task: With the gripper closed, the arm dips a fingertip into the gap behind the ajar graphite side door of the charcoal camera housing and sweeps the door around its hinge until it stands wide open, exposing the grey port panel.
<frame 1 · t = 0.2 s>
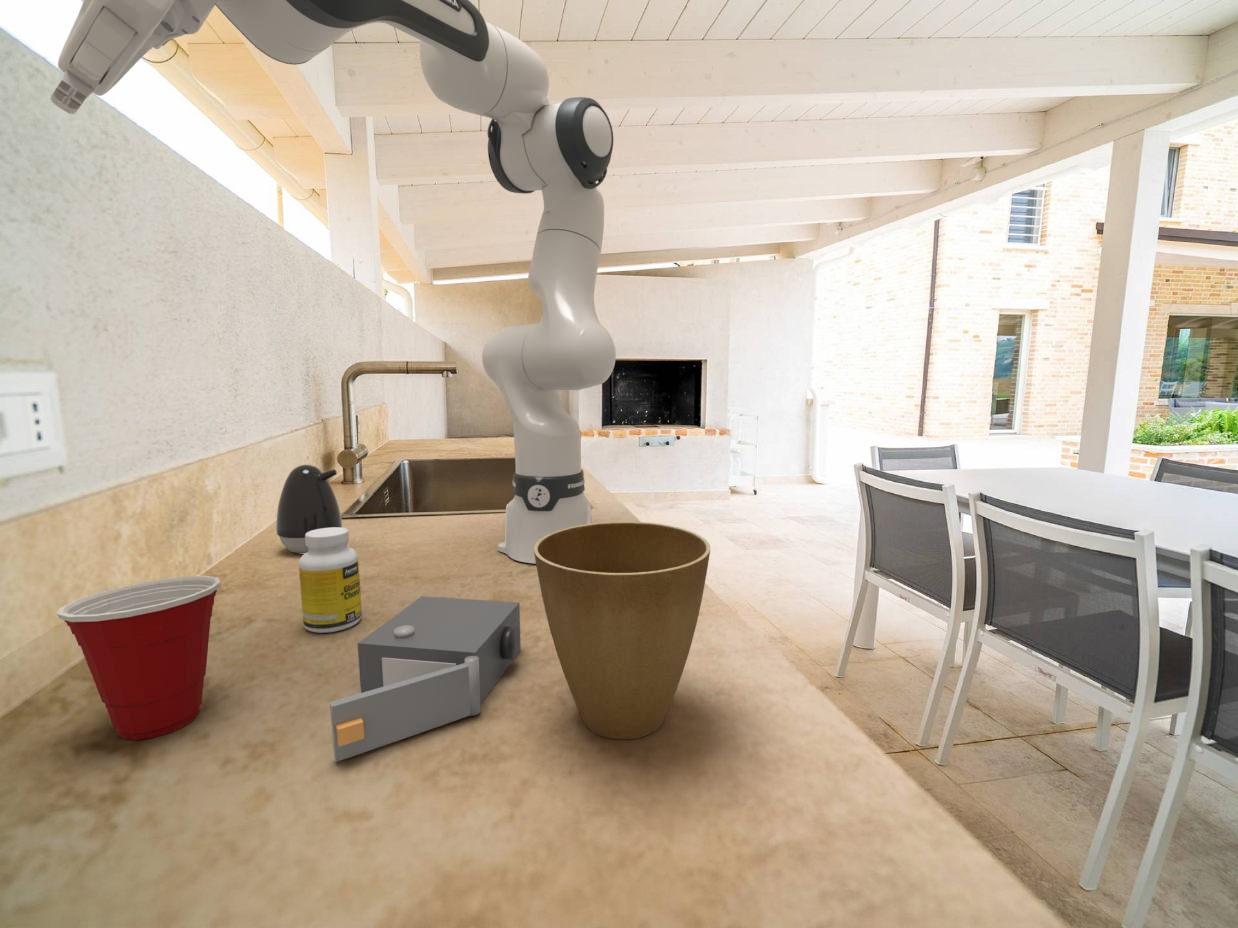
hand: (73, 89, 49), 54 cm above the counter, tool tilted 30°, fingers open, 8 cm apart
pump dispenser: (312, 550, 102), on the counter
camera housing: (447, 672, 59), on the counter
plant pot: (621, 718, 51), on the counter
side door: (411, 706, 48), point 3 cm above the counter, hinge at 45.0°
pill bottle: (333, 625, 71), on the counter
plastic cup: (159, 721, 51), on the counter
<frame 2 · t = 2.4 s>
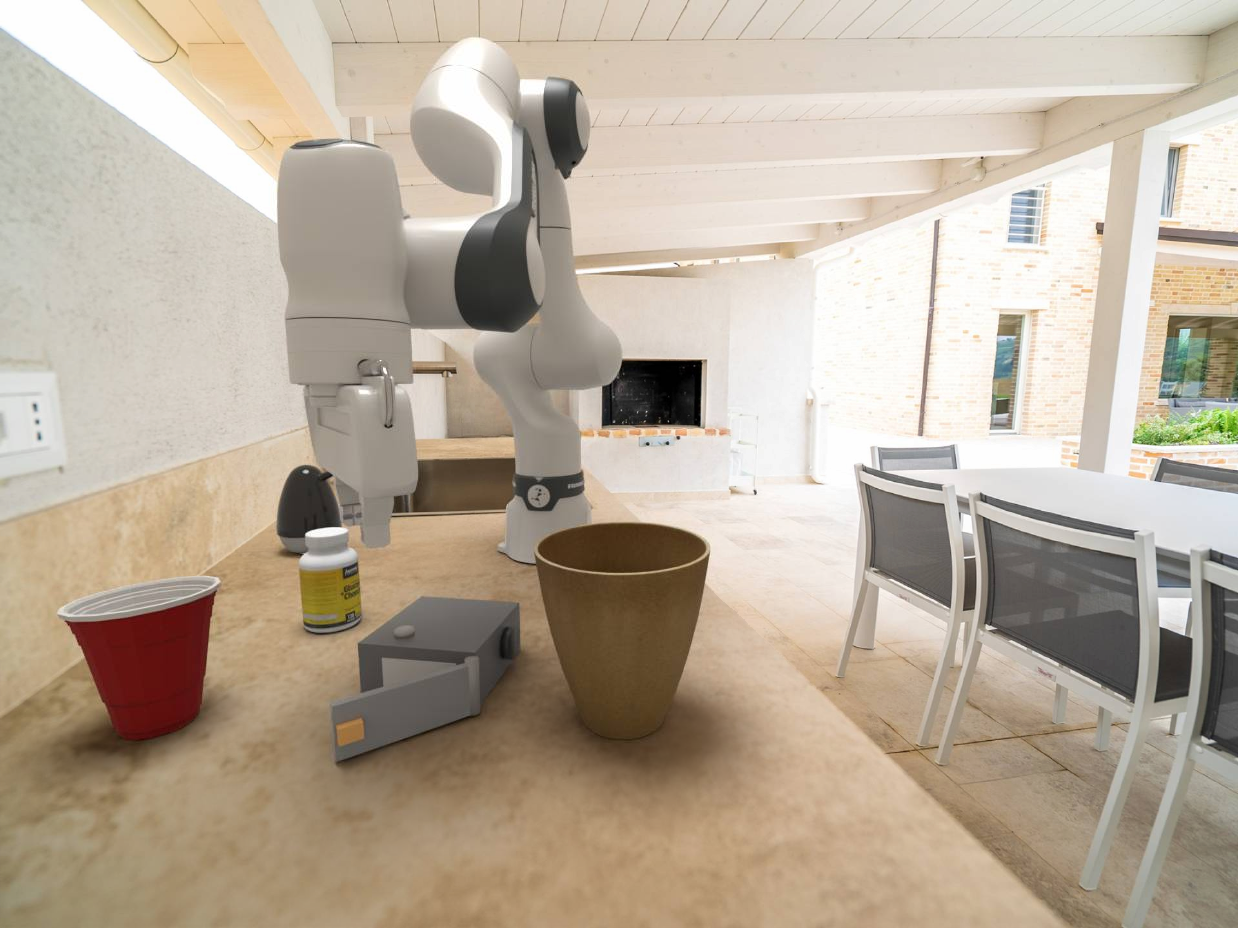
hand: (363, 534, 47), 17 cm above the counter, tool pointing down, fingers open, 7 cm apart
nothing on the counter moved.
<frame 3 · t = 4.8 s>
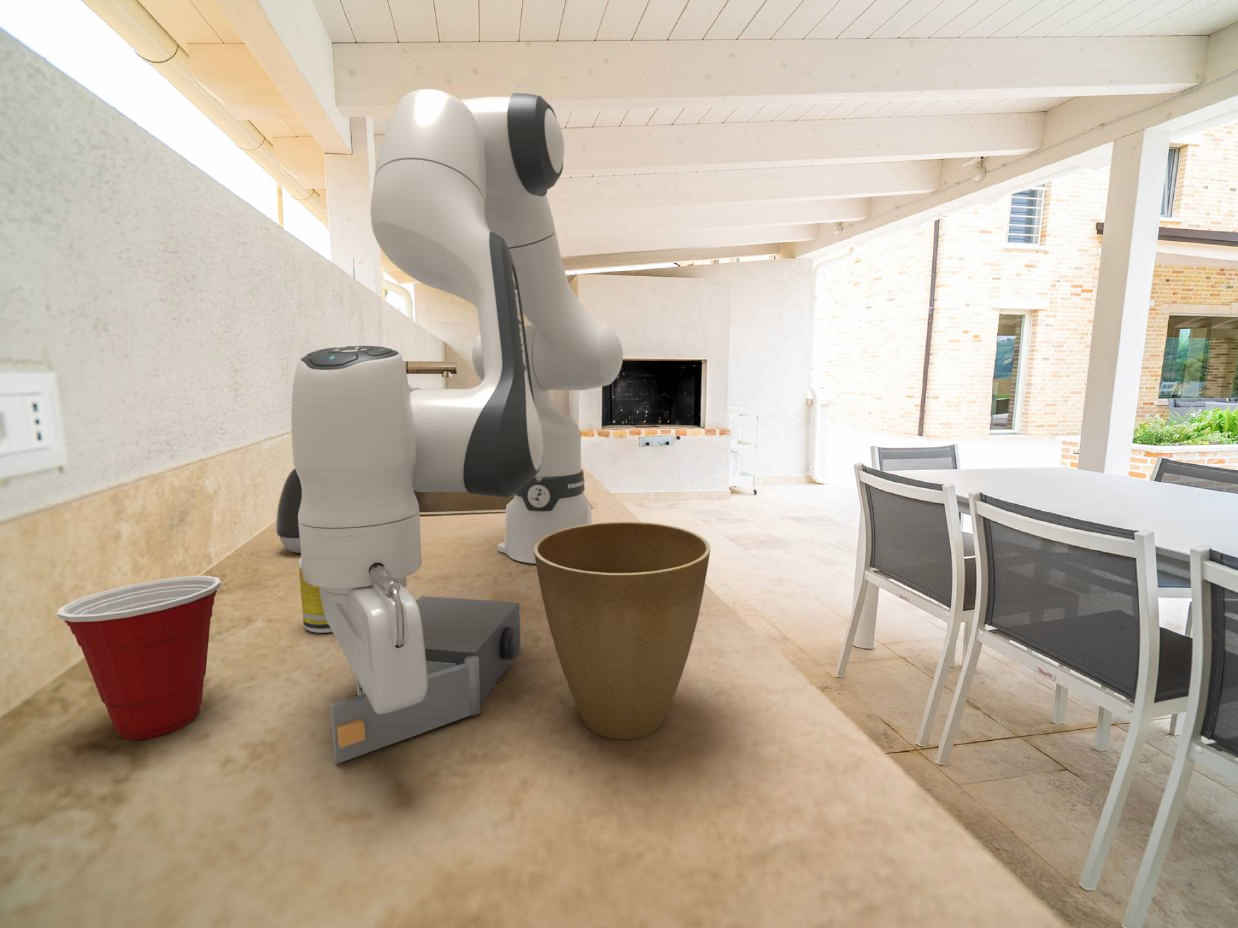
hand: (373, 709, 49), 2 cm above the counter, tool pointing down, fingers closed
side door: (412, 706, 48), point 3 cm above the counter, hinge at 46.4°, touching gripper
everything else where it was.
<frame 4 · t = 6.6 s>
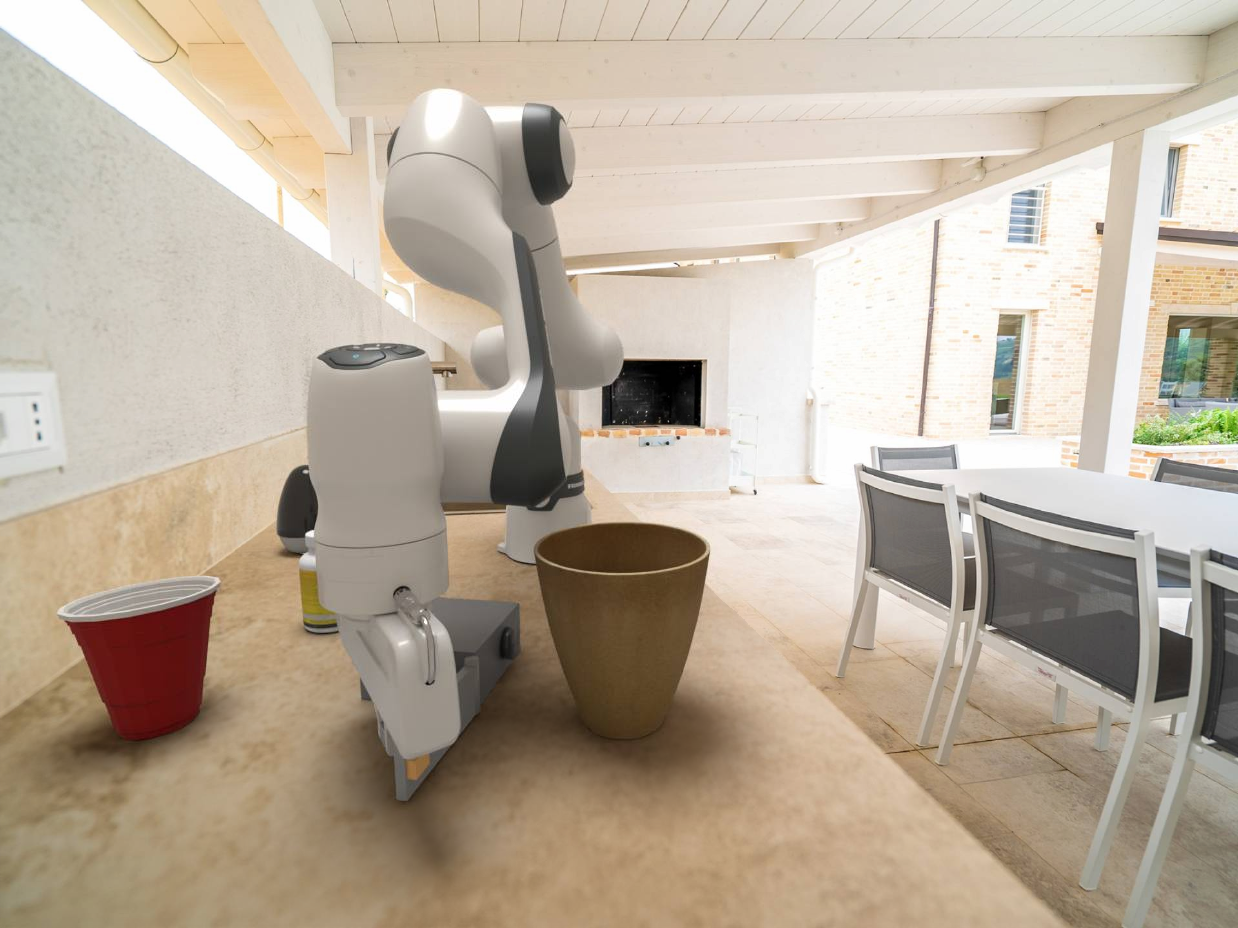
hand: (395, 744, 44), 2 cm above the counter, tool pointing down, fingers closed
side door: (445, 719, 46), point 3 cm above the counter, hinge at 87.6°, touching gripper
everything else where it was.
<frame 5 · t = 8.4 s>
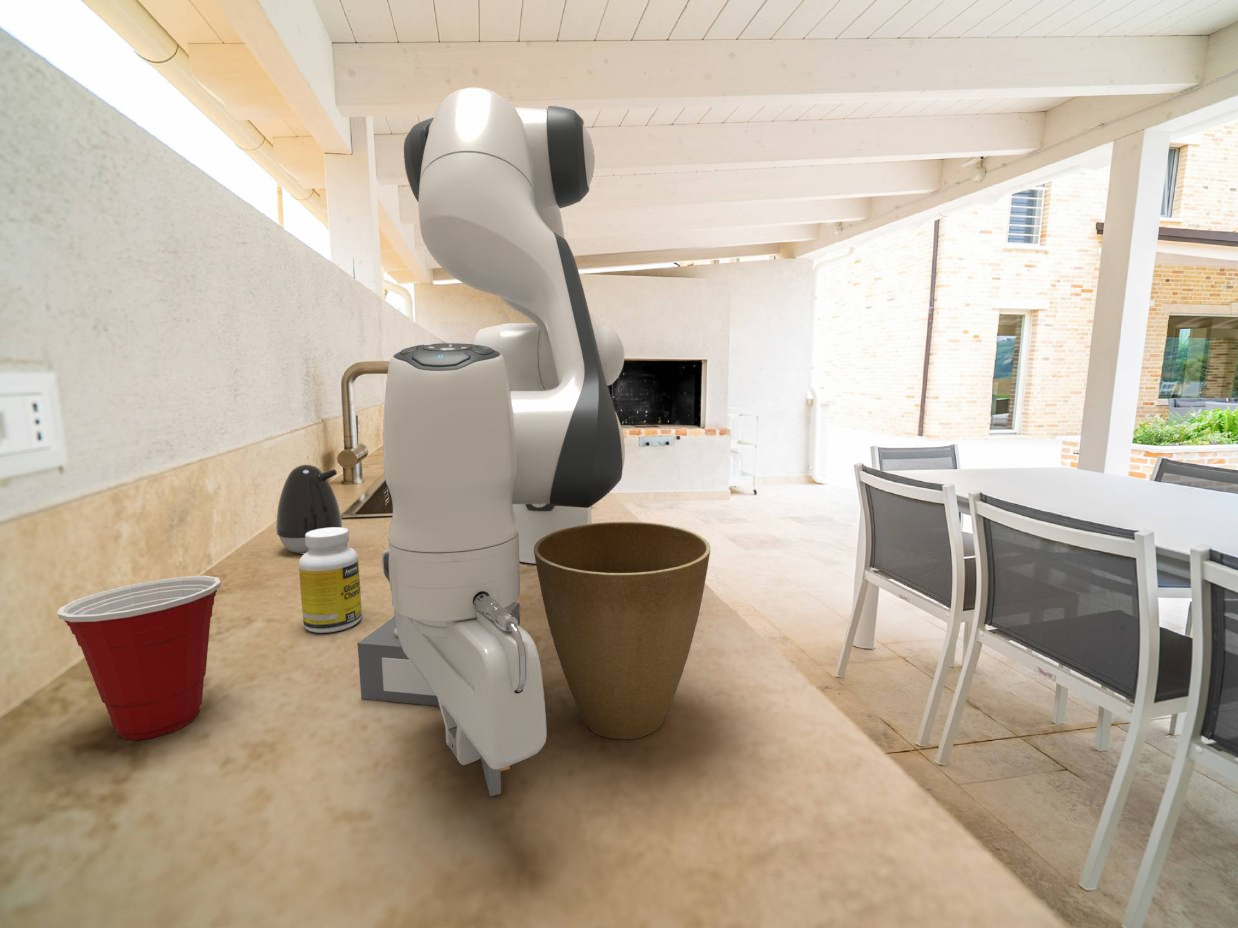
hand: (464, 752, 43), 2 cm above the counter, tool pointing down, fingers closed
side door: (484, 716, 46), point 3 cm above the counter, hinge at 121.0°, touching gripper
everything else where it was.
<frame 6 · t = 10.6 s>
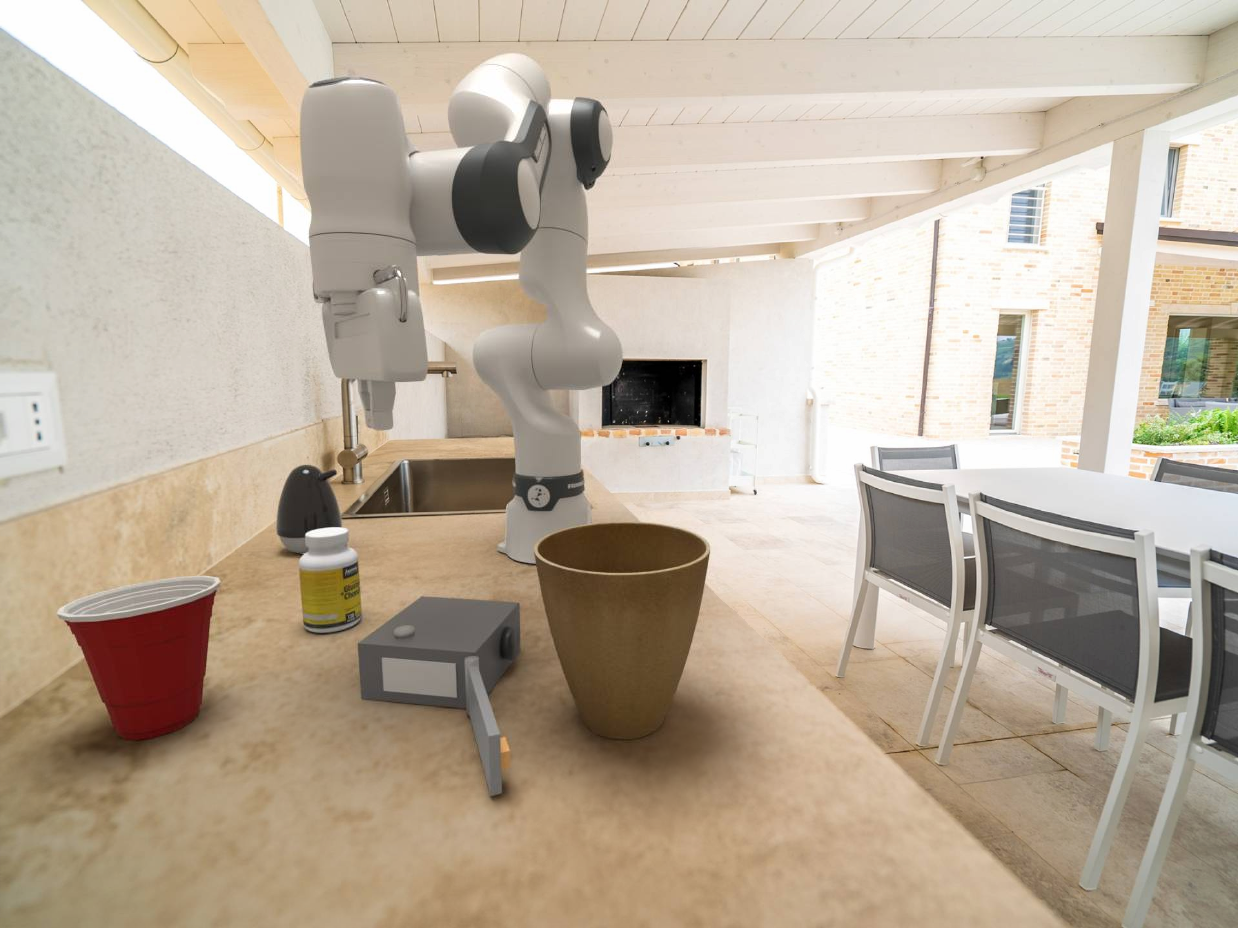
hand: (379, 429, 55), 25 cm above the counter, tool pointing down, fingers closed
side door: (485, 716, 46), point 3 cm above the counter, hinge at 121.3°
everything else where it was.
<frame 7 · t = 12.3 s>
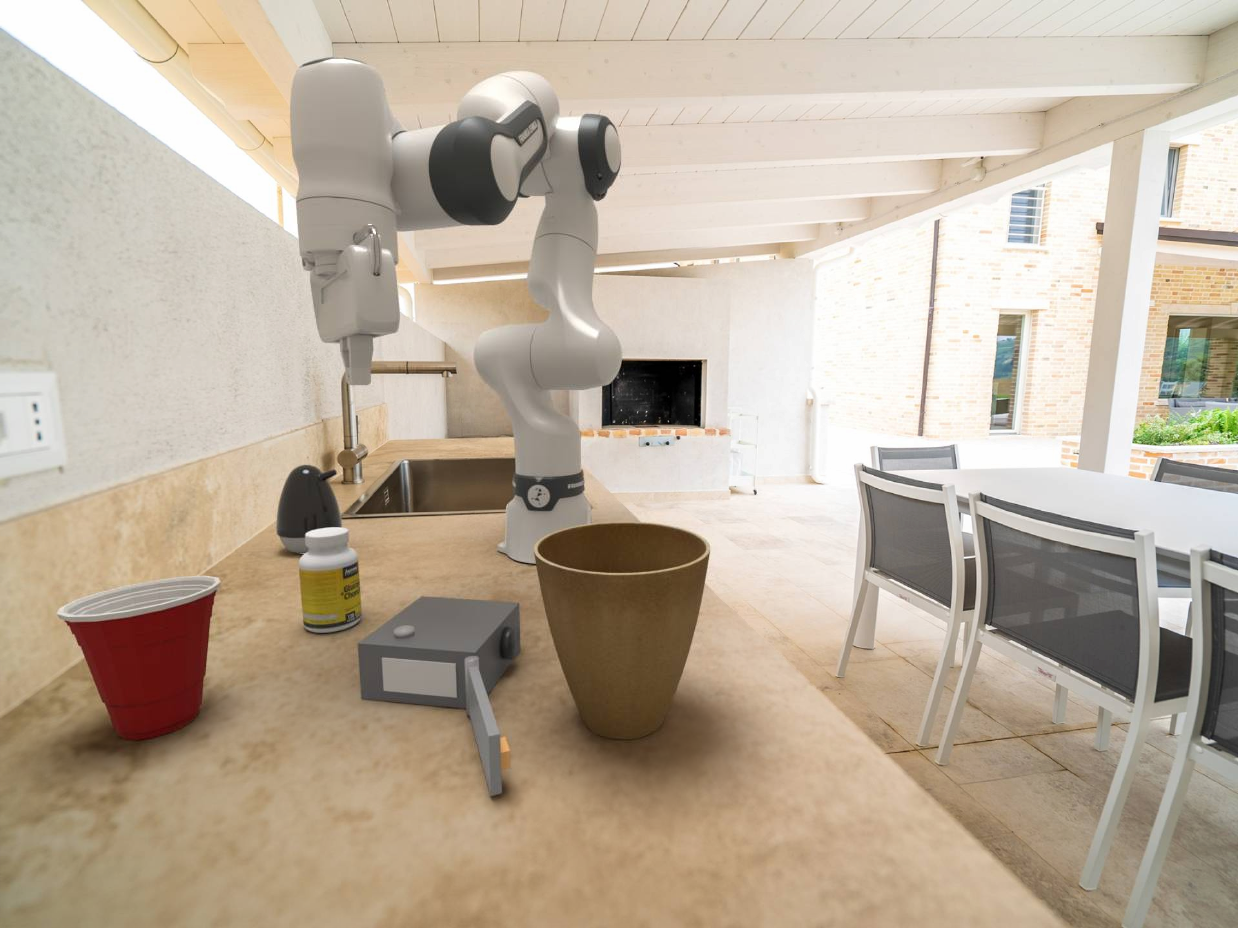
hand: (358, 385, 59), 29 cm above the counter, tool pointing down, fingers closed
nothing on the counter moved.
at the end: side door at +121° (first picture: +45°) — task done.
